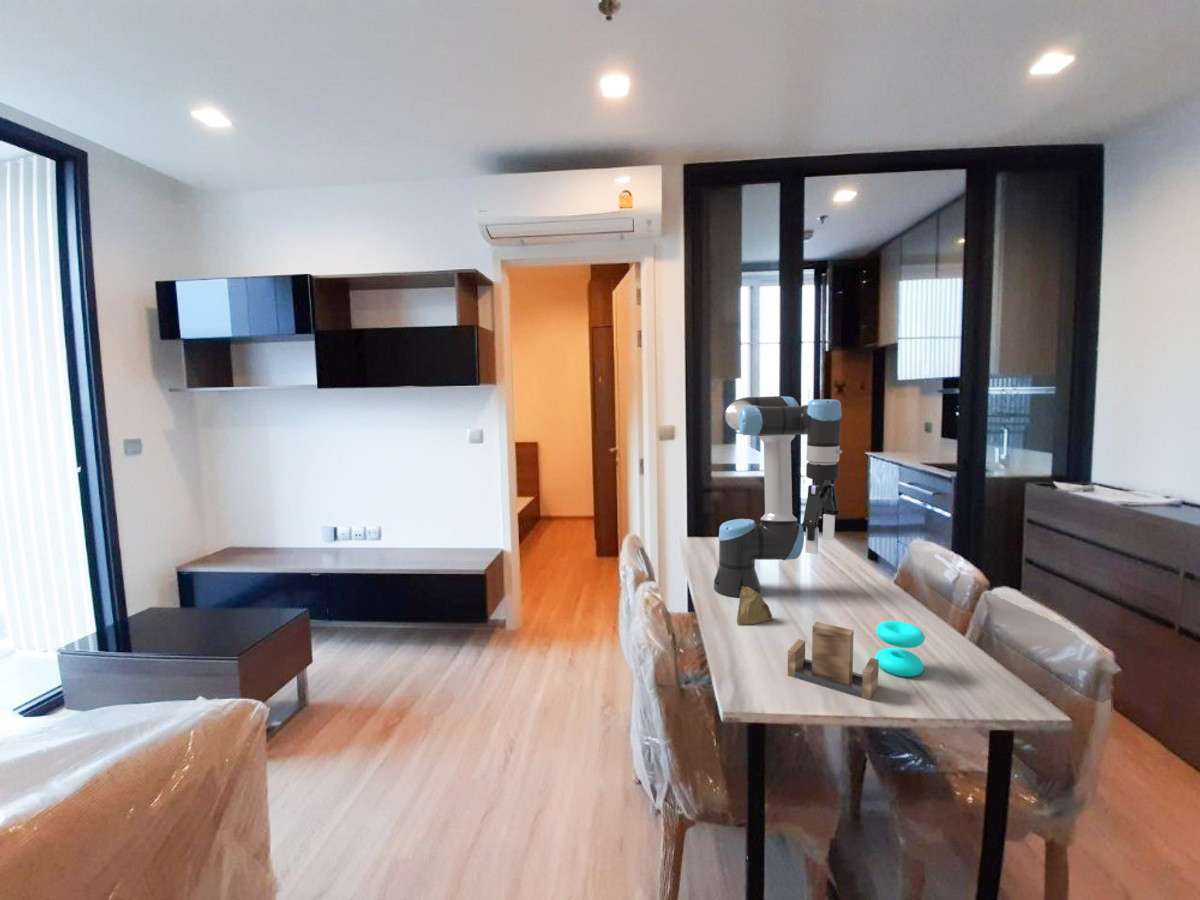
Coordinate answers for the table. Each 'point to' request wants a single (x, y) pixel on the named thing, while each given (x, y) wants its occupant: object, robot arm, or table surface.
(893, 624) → the donuts
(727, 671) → the table surface
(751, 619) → the rock
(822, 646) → the door panel
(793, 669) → the frame posts
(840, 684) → the track
